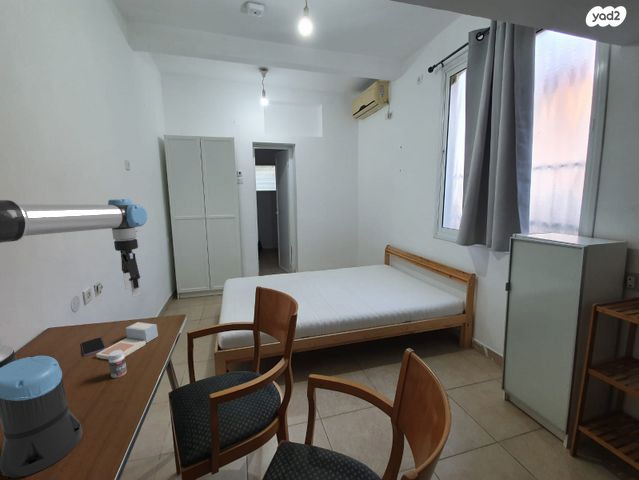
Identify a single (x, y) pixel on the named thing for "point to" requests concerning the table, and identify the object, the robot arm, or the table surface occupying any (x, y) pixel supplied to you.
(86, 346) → the smartphone
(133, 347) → the board
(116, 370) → the pill bottle
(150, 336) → the blue framed panel box
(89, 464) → the table surface
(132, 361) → the table surface
